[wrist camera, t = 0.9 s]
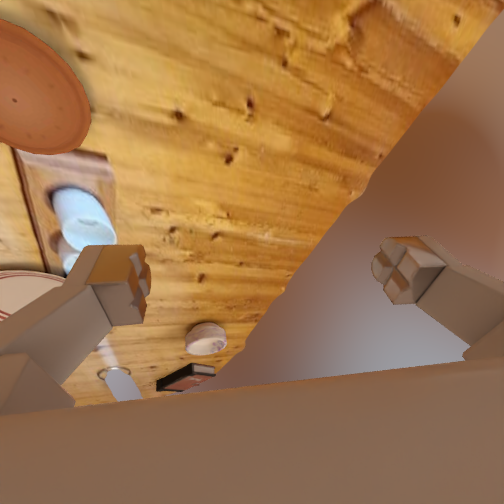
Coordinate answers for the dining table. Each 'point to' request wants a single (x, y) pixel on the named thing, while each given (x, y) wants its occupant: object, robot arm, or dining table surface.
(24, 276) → the dinner plate
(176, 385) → the book
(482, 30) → the dining table surface
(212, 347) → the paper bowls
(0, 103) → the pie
